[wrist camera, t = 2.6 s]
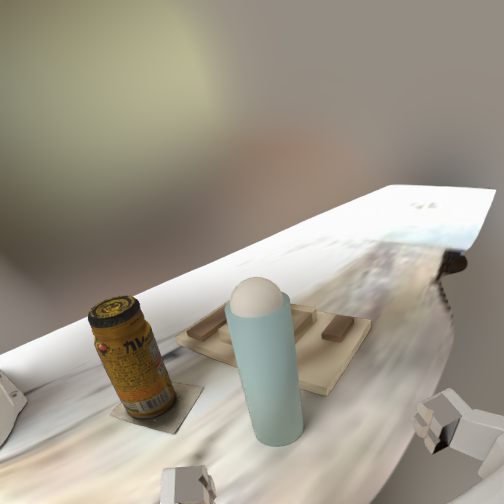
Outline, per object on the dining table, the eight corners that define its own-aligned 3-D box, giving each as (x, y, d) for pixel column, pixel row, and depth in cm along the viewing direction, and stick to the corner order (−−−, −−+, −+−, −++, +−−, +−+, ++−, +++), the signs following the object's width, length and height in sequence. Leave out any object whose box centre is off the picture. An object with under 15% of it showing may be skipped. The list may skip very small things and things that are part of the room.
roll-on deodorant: (244, 435, 25) (205, 289, 20) (272, 405, 28) (246, 264, 24) (286, 453, 22) (260, 300, 18) (312, 419, 25) (299, 270, 21)
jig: (177, 343, 41) (171, 325, 40) (237, 302, 51) (233, 285, 50) (327, 396, 28) (326, 374, 27) (370, 327, 37) (371, 307, 37)
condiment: (143, 378, 35) (109, 289, 31) (204, 388, 32) (174, 290, 28) (110, 416, 28) (62, 323, 25) (174, 436, 26) (128, 333, 22)
